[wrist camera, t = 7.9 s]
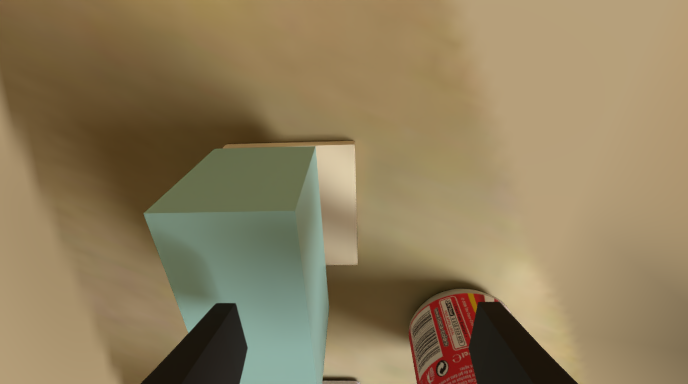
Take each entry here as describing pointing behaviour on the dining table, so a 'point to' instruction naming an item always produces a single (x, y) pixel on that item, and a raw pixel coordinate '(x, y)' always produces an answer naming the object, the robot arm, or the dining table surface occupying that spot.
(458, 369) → the soda can
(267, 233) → the block
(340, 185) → the stand
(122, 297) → the dining table surface
